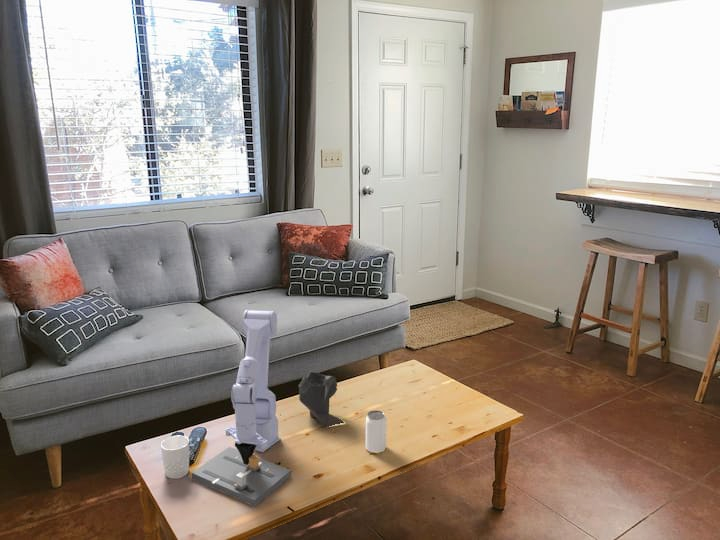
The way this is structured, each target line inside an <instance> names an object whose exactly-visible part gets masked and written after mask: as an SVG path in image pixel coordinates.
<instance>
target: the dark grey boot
mask: <svg viewBox="0 0 720 540" xmlns="http://www.w3.org/2000/svg"><path fill="white" fill-rule="evenodd" d="M337 387H338V382H337V379H336V376H332V375H324V374H321V373H318V372H316V371H314V370H313V369H309V371H308V373H307V375H305V376H303V377H302V379H301V381H300V383H299V384H298V393H299V395H298V396H299V402H300V403H301V404H303V405H304V406H305V407H306V408H307V409H308V410H309V417H312V418H315V419H316V421H318V422H319V423H320V424H321V426H322V427H323V428H325V429H328V428H327V427H329V426H332V425H335V424H340V423H344V422H343V421H342V420H343V419H342V418H339V417H338V416H335V415H333V414H330V399H331V398H332V397H333V396H334V395H336V392H337V391H338V388H337ZM341 419H342V420H341Z"/></svg>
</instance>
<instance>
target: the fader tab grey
mask: <svg viewBox="0 0 720 540" xmlns="http://www.w3.org/2000/svg"><path fill="white" fill-rule="evenodd" d="M248 485H249V483H247V482H246V474H244V473H241V472H240V473H238V474H237V475H236V484H235V485H234V487H236V488H238V489H241V490H243V489H244V488H245V487H247V486H248Z"/></svg>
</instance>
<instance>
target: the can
mask: <svg viewBox="0 0 720 540" xmlns="http://www.w3.org/2000/svg"><path fill="white" fill-rule="evenodd" d="M386 445H387V417H386V414H385V412H383V411H381V410H370V411H368V413H367V416H366V418H365V449H367V450H368V451H370V452H381V451H383V452H385V450H386V449H385V448H386ZM367 450H366V451H367ZM368 451H367V452H368ZM370 452H369V453H370Z"/></svg>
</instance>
